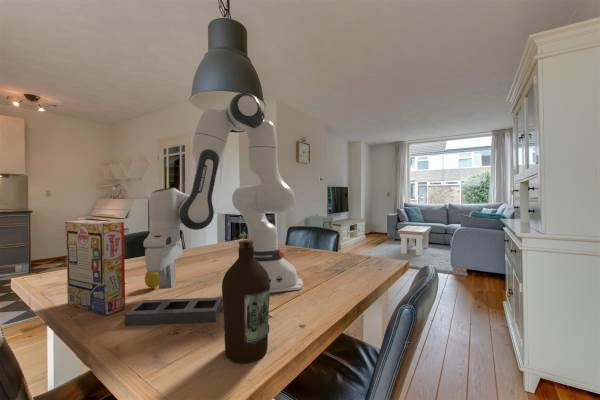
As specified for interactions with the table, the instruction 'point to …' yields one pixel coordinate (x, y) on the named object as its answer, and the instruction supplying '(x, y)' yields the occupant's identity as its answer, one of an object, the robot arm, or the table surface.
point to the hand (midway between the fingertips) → (167, 277)
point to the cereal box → (95, 265)
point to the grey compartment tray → (174, 311)
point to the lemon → (151, 279)
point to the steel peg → (171, 277)
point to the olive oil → (246, 307)
